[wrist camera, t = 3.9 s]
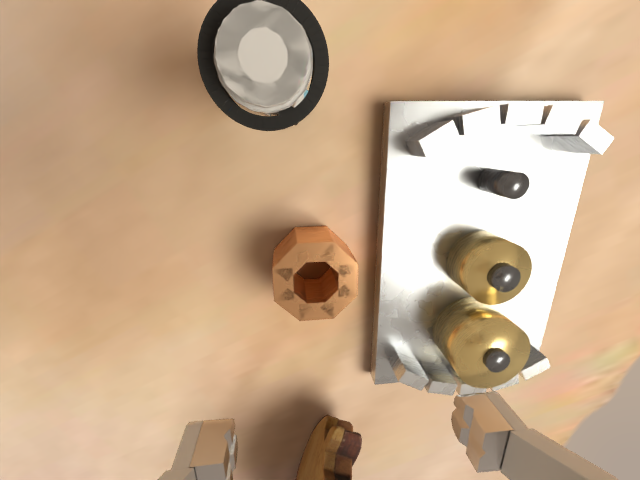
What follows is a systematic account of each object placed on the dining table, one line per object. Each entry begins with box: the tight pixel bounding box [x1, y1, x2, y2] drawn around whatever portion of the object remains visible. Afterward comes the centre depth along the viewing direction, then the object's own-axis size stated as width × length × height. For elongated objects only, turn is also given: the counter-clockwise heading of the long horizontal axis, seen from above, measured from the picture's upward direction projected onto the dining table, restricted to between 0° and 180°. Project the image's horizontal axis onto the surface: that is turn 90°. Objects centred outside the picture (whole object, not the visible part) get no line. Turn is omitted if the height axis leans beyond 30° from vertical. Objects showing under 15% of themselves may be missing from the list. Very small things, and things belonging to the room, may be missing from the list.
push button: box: [197, 0, 329, 131], centre depth 16 cm, size 7×5×10 cm
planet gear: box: [272, 226, 358, 321], centre depth 23 cm, size 6×6×4 cm
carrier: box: [370, 101, 614, 395], centre depth 24 cm, size 16×24×6 cm, turn 1°
